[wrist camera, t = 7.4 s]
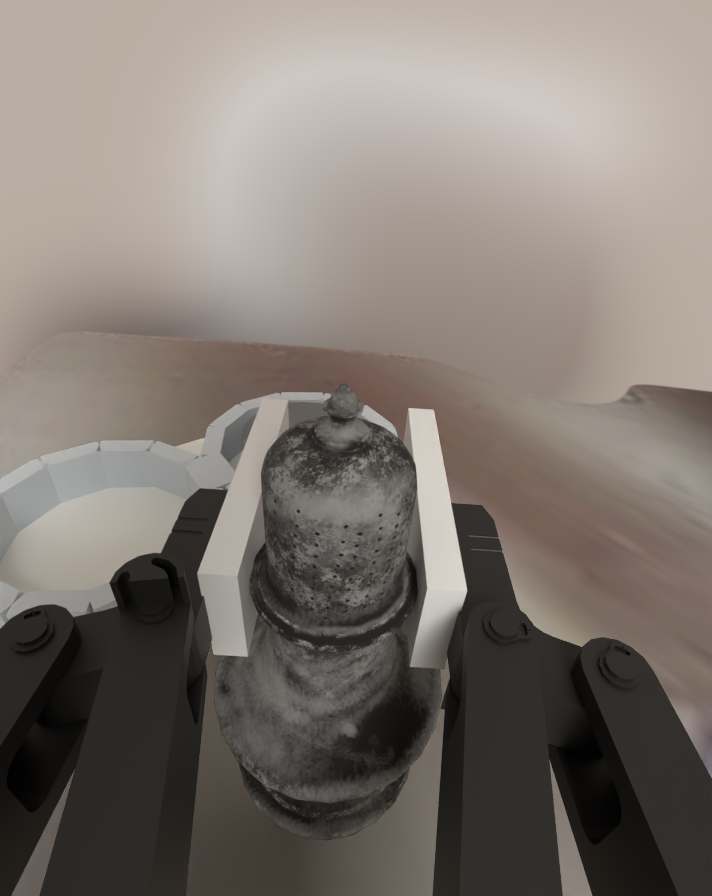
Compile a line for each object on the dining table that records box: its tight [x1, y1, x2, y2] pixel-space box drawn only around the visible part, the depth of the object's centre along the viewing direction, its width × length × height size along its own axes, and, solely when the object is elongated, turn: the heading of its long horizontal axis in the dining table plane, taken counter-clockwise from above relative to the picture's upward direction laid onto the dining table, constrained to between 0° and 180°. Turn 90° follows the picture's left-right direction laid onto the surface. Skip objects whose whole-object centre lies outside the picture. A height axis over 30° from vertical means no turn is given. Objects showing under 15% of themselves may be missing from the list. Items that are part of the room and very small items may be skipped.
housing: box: [0, 392, 398, 628], centre depth 26 cm, size 22×13×4 cm, turn 126°
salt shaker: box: [214, 384, 442, 840], centre depth 11 cm, size 6×6×12 cm
